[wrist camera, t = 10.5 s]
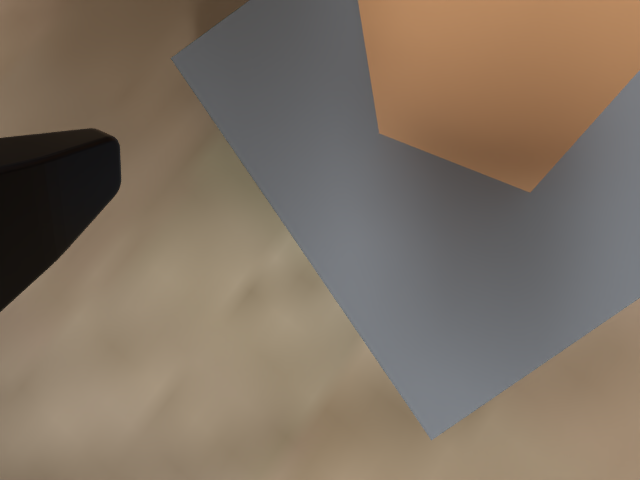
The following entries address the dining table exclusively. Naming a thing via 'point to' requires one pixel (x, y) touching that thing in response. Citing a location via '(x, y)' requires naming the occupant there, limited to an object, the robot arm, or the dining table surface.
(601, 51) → the orange carton
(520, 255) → the display podium
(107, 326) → the dining table surface
